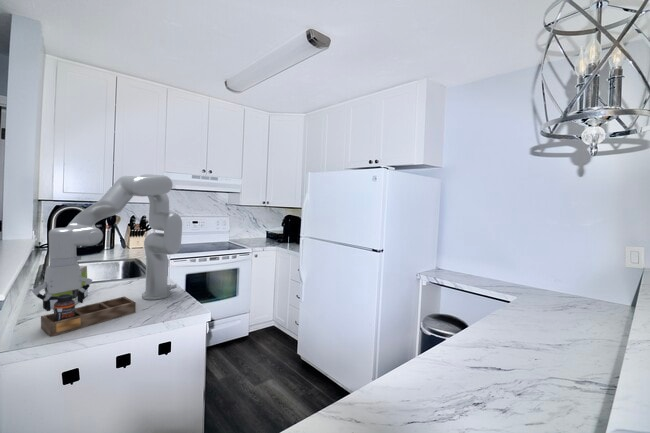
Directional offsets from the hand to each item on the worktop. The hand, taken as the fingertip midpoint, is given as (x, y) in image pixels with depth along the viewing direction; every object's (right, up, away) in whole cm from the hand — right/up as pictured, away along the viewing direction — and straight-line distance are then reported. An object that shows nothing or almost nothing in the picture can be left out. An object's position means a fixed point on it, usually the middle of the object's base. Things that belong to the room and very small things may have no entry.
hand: (64, 306), depth 112 cm
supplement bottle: (-1, -8, +1) cm, 8 cm away
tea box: (-19, -5, +24) cm, 31 cm away
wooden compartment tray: (+4, -8, +8) cm, 12 cm away
